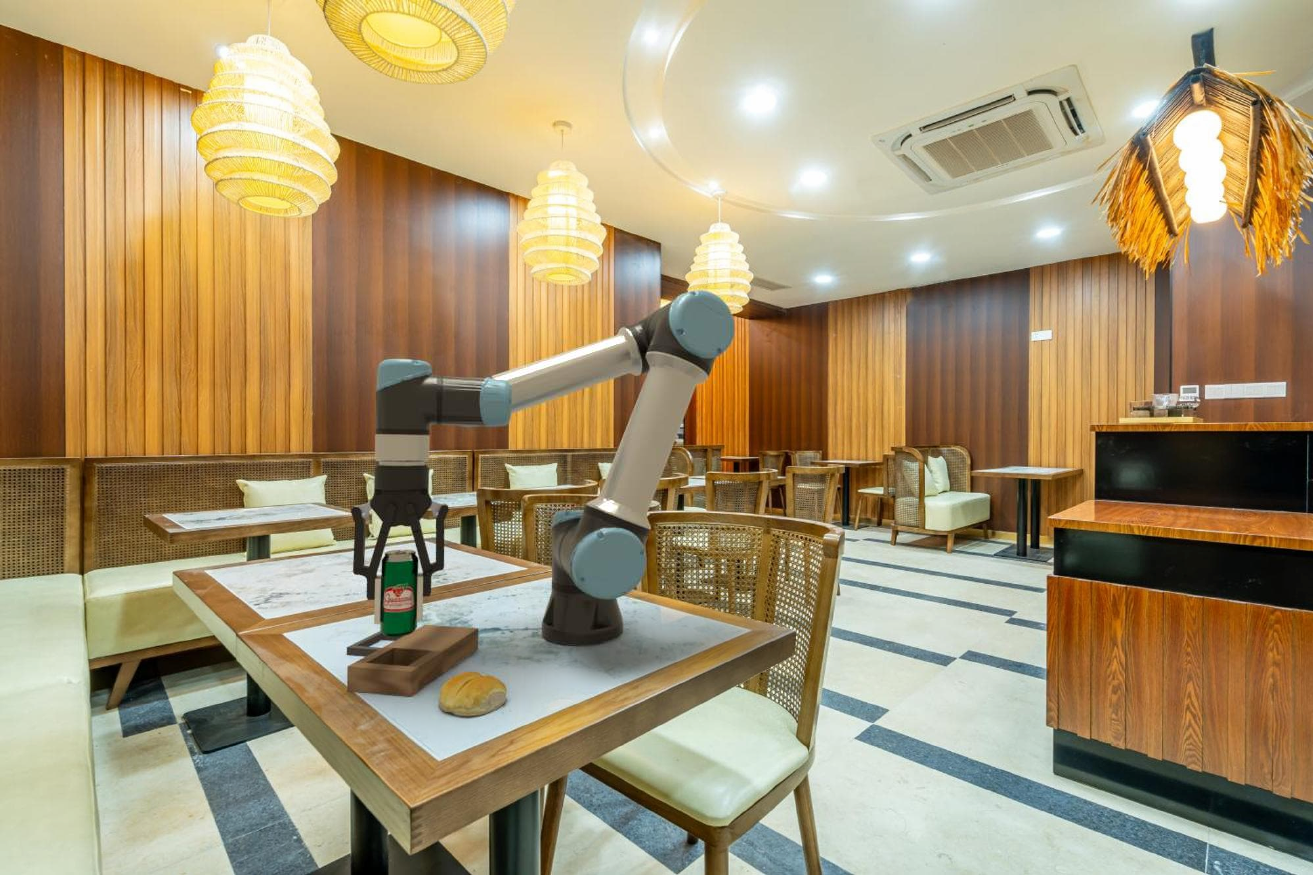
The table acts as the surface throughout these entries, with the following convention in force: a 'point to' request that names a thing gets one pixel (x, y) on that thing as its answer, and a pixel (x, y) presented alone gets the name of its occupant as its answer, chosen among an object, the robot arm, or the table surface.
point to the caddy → (412, 660)
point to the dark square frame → (368, 644)
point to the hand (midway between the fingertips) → (399, 619)
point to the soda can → (399, 593)
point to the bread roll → (472, 694)
